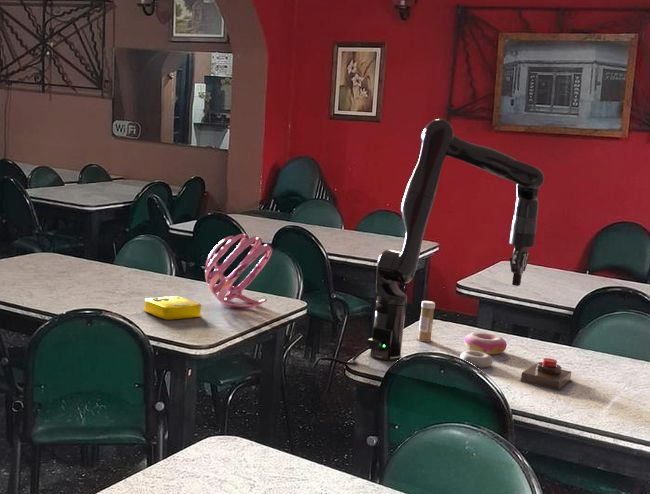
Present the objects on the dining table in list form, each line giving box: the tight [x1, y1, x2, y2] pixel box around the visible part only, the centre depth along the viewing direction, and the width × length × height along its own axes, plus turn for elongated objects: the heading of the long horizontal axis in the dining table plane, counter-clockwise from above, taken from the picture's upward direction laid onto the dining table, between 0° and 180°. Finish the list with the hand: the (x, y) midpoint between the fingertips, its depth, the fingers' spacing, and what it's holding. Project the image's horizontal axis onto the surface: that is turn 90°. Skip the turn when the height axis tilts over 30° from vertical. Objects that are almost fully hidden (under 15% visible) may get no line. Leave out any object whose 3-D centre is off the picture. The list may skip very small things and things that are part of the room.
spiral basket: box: [204, 233, 274, 309], centre depth 318 cm, size 28×28×27 cm
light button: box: [542, 357, 558, 368], centre depth 255 cm, size 4×4×2 cm
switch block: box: [520, 361, 572, 391], centre depth 254 cm, size 14×11×4 cm
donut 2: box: [459, 350, 493, 369], centre depth 266 cm, size 10×4×10 cm
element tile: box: [144, 295, 202, 321], centre depth 296 cm, size 15×15×5 cm
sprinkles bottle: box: [417, 300, 436, 343], centre depth 290 cm, size 5×5×14 cm
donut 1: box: [464, 332, 507, 356], centre depth 284 cm, size 14×13×5 cm
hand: (516, 285), depth 268 cm, fingers closed
